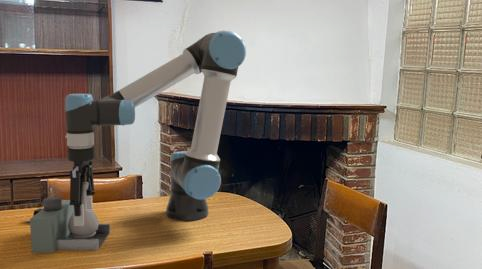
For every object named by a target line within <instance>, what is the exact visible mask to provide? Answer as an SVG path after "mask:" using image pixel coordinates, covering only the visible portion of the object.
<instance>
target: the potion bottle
mask: <svg viewBox="0 0 482 269" xmlns="http://www.w3.org/2000/svg"><path fill="white" fill-rule="evenodd" d="M88 185H89V183H88V182H86V181H85V182H84V186H83V198H82V204H83V207H84V226H74V213H72V215H71V217H70V219H69V223H68V228H69V231H70V233H72V236H73V237H75V238H88V237H92V236H93V235H95V234H96V232H95V231H96V230H98V226H99V223H100V221H99V218H98V216H97V215H96V213H95V211H94V210H90V209H87V199H86V190H87V189H88Z"/></svg>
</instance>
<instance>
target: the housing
mask: <svg viewBox="0 0 482 269" xmlns="http://www.w3.org/2000/svg"><path fill="white" fill-rule="evenodd" d="M72 213H73V205H70V199H62V197H61V196H49V197H46V198H43V208H42V210H41V211H39V212H38V213H37V214H36V215H34V216H31V217H30V218H29V220H30V223H29V226H30V228H29V230H30V231H29V232H30V245H31V246H30V247H31V253H32V254H54V253H55V252H56V251H57V250H56V243H55V240H56V239H65V238H66V237H67V236H68V235H69V234H70V231H69V228H68V223H69V219H70V217H71V215H72Z"/></svg>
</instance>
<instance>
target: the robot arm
mask: <svg viewBox="0 0 482 269" xmlns="http://www.w3.org/2000/svg"><path fill="white" fill-rule="evenodd" d="M245 44H246V43H245V42H244V40H243V38H242V37H241V36H240V35H239V34H237V33H235V32H234V31H230V30H229V31H228V30H220V31H219V30H218V31H217V32H211V33H208V34H205V35H204V36H202V37H201V38H199V39H198V40H197V41H195V42H194V43H192V44H191V45H189V46H188V47H186V48H184V49H183V51H182V53H181V54H180V55H178V56H176V57H174V58H173V59H171V60H169V61H168V62H165V63H164V64H162V65H161V66H159V67H157V68H156V69H155V68H154V69H153V70H152V71H150V72H148V73H146V74H145V75H143V76H142V77H140V78H138V79H136V80H134V81H132V82H131V83H129V84H127V85H126V86H124V87H122V88H119V89H118V90H117V91H115V92H114V93H112V94H109V95H106V96H104V97H102V98H101V99H99V100H95V99H94V98H93V95H92V94H91V93H70V94H67V95H66V96H65V104H64V106H65V109H64V110H65V111H64V112H65V128H66V129H65V130H66V135H64V137H65V139H66V145H67V147H68V148H66V153H67V154H66V155H67V161H70V162H73V167H72V170H71V169H70V170H69V180H70V181H69V184H70V187H69V188H70V189H69V200H70V205H73V213H74V226H84V207H83V204H82V198H83V186H84V182H85V181H86V182H88V183H89V185H88V189H87V190H86V199H87V209H90V210H93V208H94V207H93V196H95V195H96V191H95V184H94V183H95V182H94V173H93V171H94V170H93V164H94V163H93V160H94V159H95V147H94V145H95V133H94V130H95V129H94V127H99V126H102V127H103V126H123V127H124V126H126V125H128V126H131V125H133V124H135V120H136V108H137V107H138V106H140V105H142V104H144V103H145V102H147V101H149V100H150V99H152V98H154V97H156V96H158V95H159V94H161V93H162V92H164V91H166V90H168V89H171V87H173V86H174V85H176V84H178V83H180V82H181V81H183V80H186V78H188V77H190V76H192V75H194V74H195V75H199V74H203V76H204V78H203V82H202V87H201V88H202V89H201V93H200V99H199V104H198V109H197V113H196V120H195V125H194V130H193V135H192V141H191V145H190V149H189V150H183V151H174V152H172V153H171V155H170V160H169V161H170V196H169V199H168V203H167V205H166V211H165V212H166V217H167V218H169V219H170V220H171V219H172V220H175V221H180V222H181V221H183V222H184V221H186V222H187V221H198V220H201V219H202V220H203V219H205V218H207V216H208V215H209V206H208V202H207V199H210V198H211V197H213V196H214V195H215V194H216V193H217V192H218V191H219V189H220V187H221V183H222V178H221V174H220V172H219V168H220V162H221V158H220V157H219V155H218V148H219V144H220V138H221V132H222V128H223V122H224V117H225V114H226V108H227V102H228V98H229V97H228V96H229V92H230V86H231V82H232V81H233V80H234V79H237V75H238V72H239V71H238V70H239V67H240V66H241V65H242V64H243V62H244V61H245V58H246V56H247V48H246V45H245ZM93 211H94V210H93Z"/></svg>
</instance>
